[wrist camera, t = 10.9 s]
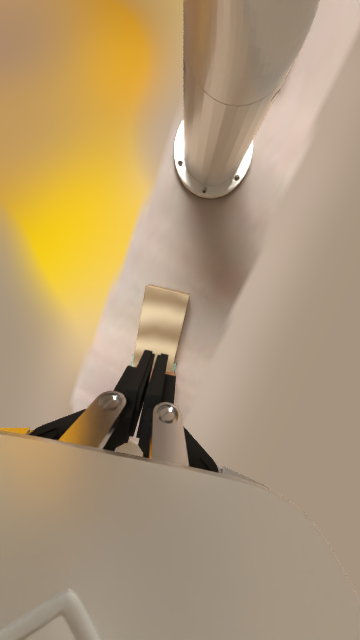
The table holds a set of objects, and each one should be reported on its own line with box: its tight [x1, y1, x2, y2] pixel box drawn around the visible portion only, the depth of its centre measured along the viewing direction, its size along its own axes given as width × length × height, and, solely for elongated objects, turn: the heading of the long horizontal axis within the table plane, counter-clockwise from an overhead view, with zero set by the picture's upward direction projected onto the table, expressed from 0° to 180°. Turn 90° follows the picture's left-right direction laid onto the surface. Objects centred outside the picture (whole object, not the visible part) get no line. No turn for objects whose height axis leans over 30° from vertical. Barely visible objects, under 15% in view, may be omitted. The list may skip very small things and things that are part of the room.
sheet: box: [133, 285, 189, 372], centre depth 35 cm, size 16×8×4 cm, turn 167°
